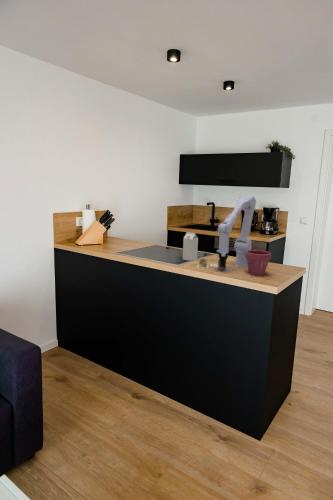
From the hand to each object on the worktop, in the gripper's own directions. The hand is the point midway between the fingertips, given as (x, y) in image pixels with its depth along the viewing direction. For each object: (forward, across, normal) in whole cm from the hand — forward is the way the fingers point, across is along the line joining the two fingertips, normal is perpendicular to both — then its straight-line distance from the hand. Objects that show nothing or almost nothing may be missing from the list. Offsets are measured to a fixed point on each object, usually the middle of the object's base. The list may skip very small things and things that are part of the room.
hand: (222, 265), depth 206 cm
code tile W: (+3, -10, -4) cm, 11 cm away
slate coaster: (+3, 0, 0) cm, 3 cm away
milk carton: (+3, -23, -22) cm, 32 cm away
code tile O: (+3, -5, -12) cm, 13 cm away
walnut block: (+2, 0, 0) cm, 2 cm away
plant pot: (+3, +2, +20) cm, 20 cm away
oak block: (+2, -5, -12) cm, 13 cm away
